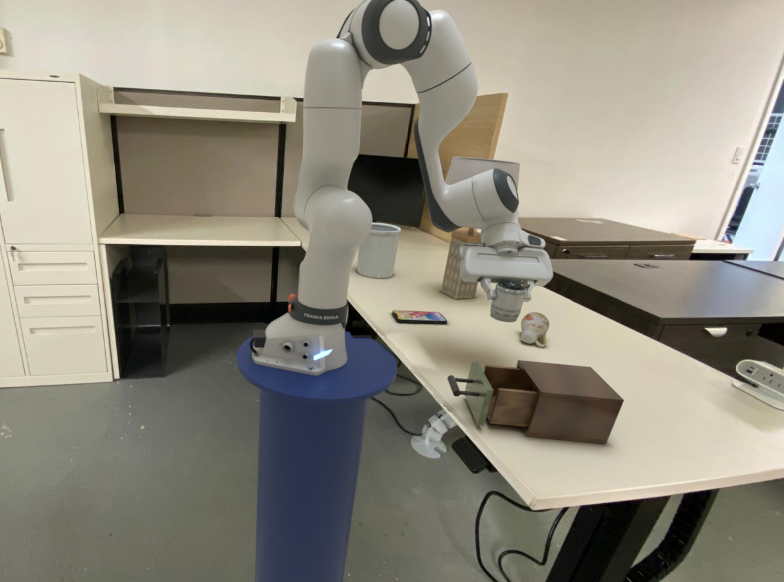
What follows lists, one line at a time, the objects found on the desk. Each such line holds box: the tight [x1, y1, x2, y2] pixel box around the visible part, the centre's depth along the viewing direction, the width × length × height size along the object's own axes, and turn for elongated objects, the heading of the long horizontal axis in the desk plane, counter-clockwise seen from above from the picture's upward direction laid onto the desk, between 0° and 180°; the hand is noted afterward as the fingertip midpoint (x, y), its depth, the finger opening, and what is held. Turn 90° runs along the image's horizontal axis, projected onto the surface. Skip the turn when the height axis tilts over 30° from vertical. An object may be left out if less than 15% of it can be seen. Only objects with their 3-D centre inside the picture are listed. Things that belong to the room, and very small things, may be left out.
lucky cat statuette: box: [520, 311, 550, 348], centre depth 128 cm, size 8×10×10 cm
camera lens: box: [489, 281, 526, 323], centre depth 102 cm, size 6×6×8 cm
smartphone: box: [391, 309, 448, 325], centre depth 137 cm, size 7×1×15 cm
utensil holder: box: [356, 222, 402, 279], centre depth 173 cm, size 15×15×18 cm
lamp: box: [440, 156, 521, 300], centre depth 152 cm, size 25×25×44 cm
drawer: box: [446, 360, 538, 427], centre depth 90 cm, size 18×11×8 cm, turn 87°
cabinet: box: [515, 359, 625, 445], centre depth 90 cm, size 15×13×10 cm
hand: (509, 300), depth 101 cm, fingers closed on camera lens, 6 cm apart
